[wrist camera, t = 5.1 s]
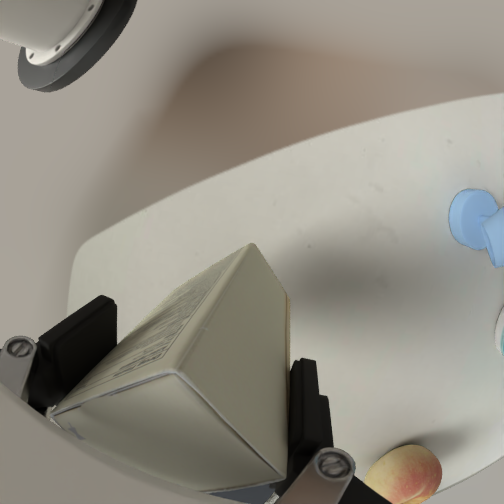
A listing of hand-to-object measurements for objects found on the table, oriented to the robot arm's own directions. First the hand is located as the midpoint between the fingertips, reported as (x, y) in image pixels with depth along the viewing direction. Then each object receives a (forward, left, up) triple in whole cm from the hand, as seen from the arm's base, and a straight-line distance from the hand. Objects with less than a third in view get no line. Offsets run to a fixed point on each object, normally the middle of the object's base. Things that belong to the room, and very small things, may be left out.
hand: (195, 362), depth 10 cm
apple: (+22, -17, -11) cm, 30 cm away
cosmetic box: (0, 0, -7) cm, 7 cm away
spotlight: (+16, +10, -11) cm, 22 cm away
